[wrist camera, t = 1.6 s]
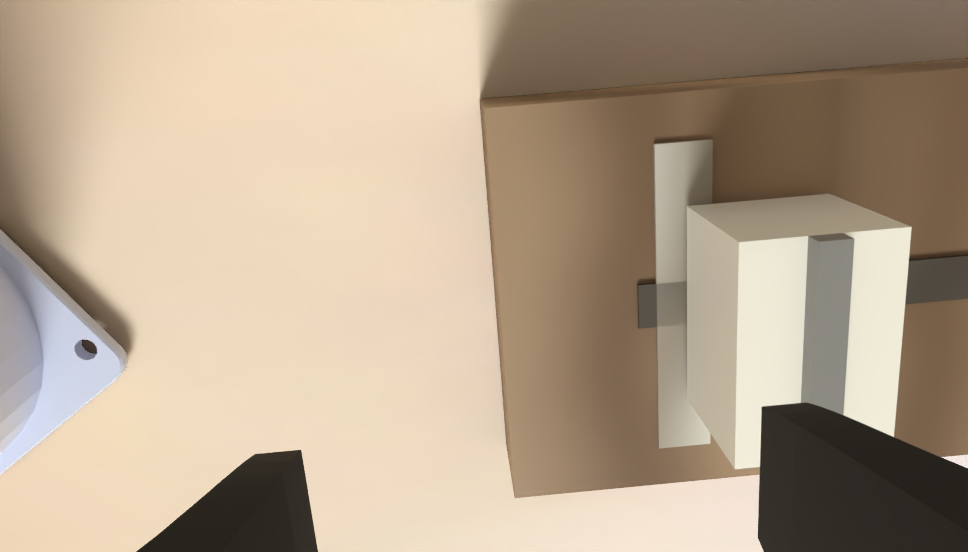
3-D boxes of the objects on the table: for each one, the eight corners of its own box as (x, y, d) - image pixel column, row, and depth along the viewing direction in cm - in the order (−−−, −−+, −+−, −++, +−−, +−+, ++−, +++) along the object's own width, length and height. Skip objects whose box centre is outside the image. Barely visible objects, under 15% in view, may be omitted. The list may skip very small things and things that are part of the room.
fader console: (506, 445, 21) (515, 500, 18) (479, 98, 18) (485, 108, 16) (1168, 382, 21) (1264, 428, 19) (1235, 36, 19) (1358, 35, 16)
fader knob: (687, 398, 18) (742, 480, 14) (686, 206, 16) (747, 247, 13) (819, 386, 18) (904, 465, 14) (829, 193, 16) (925, 232, 13)
